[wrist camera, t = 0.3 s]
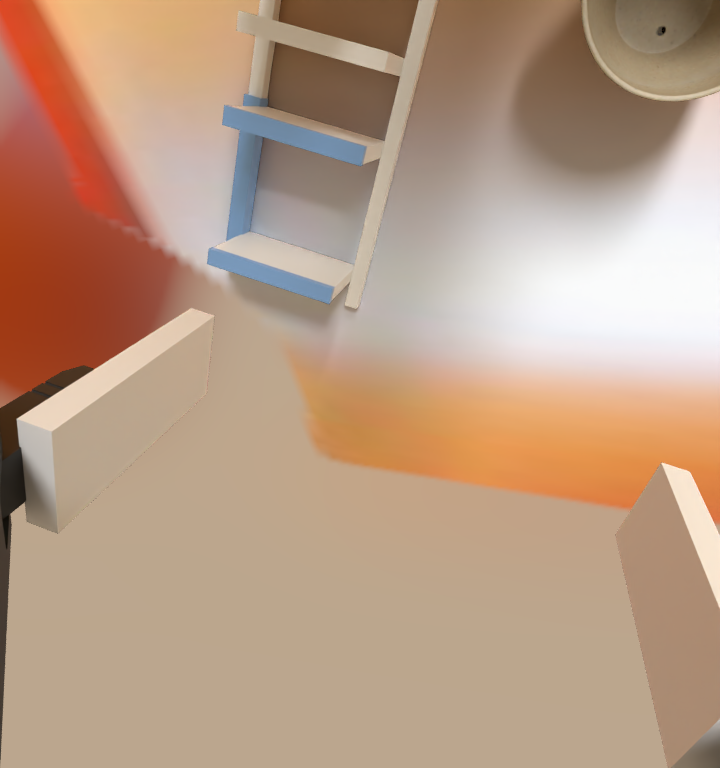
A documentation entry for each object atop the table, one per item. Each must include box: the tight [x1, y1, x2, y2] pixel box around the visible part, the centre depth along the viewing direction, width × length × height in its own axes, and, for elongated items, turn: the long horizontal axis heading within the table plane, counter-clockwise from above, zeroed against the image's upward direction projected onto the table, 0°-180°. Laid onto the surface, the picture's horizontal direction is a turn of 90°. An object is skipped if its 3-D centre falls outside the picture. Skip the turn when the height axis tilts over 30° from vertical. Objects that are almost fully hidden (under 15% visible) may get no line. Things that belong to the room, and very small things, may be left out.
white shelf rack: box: [207, 0, 439, 309], centre depth 34 cm, size 32×11×6 cm, turn 166°
